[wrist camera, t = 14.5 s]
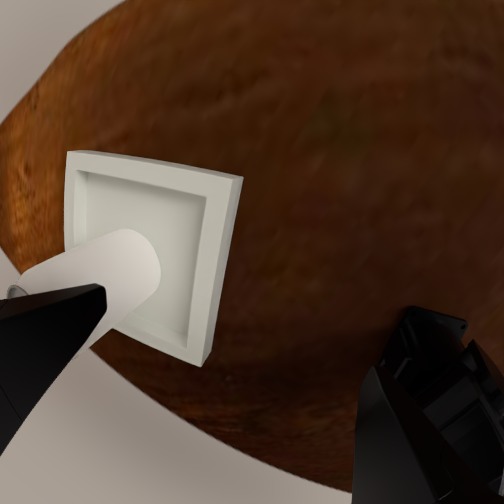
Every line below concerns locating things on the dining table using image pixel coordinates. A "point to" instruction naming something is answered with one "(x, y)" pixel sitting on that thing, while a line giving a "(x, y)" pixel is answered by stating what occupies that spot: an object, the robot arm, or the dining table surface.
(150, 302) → the tray
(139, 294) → the can
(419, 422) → the robot arm
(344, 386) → the dining table surface
